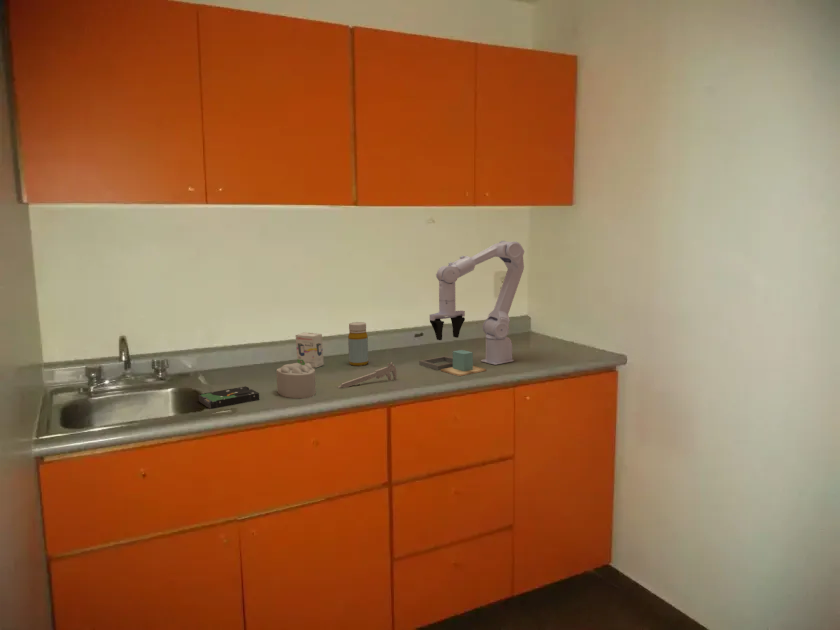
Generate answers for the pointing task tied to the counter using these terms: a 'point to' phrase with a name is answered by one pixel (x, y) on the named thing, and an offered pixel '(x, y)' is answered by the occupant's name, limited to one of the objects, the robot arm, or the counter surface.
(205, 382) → the counter surface
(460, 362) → the block
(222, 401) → the disk drive
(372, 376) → the caliper
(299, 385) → the cup of cotton balls
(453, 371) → the board
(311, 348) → the ink box
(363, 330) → the bottle
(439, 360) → the grey flat square frame
